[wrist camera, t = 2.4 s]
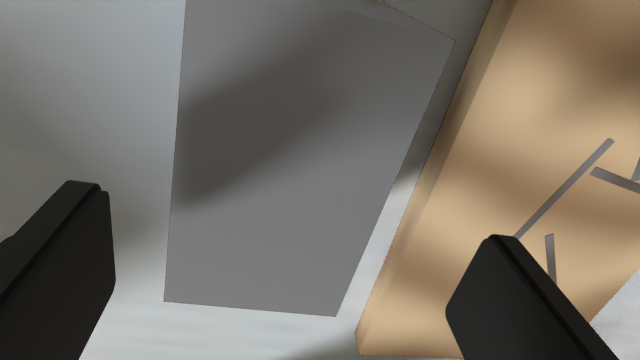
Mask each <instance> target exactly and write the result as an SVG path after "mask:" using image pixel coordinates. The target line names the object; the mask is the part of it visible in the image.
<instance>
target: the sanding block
mask: <svg viewBox="0 0 640 360" xmlns="http://www.w3.org/2000/svg"><path fill="white" fill-rule="evenodd" d="M454 44H455V40H453V39H451V38H449V37H447V36H445V35H444V34H442V33H440V32H438V31H436V30H434V29H432V28H431V27H429V26H427V25H425V24H423V23H421V22H420V21H418V20H416V19H414V18H412V17H410V16H408V15H407V14H405V13H403V12H401V11H399V10H397V9H395V8H394V7H392V6H389V5H386V4H383V3H379V2H376V1H373V0H186V7H185V20H184V34H183V47H182V61H181V74H180V87H179V101H178V114H177V128H176V141H175V155H174V168H173V182H172V195H171V209H170V222H169V236H168V249H167V263H166V276H165V290H164V302H174V303H185V304H196V305H208V306H219V307H230V308H241V309H253V310H264V311H275V312H286V313H298V314H309V315H320V316H332V317H336V315H337V313H338V310H339V308H340V306H341V303H342V301H343V299H344V297H345V294H346V292H347V290H348V287H349V285H350V283H351V280H352V278H353V276H354V274H355V271H356V269H357V267H358V264H359V262H360V260H361V257H362V255H363V253H364V251H365V248H366V246H367V244H368V241H369V239H370V237H371V234H372V232H373V230H374V228H375V225H376V223H377V221H378V218H379V216H380V214H381V211H382V209H383V207H384V205H385V202H386V200H387V198H388V195H389V193H390V191H391V188H392V186H393V184H394V182H395V179H396V177H397V175H398V172H399V170H400V168H401V165H402V163H403V161H404V159H405V156H406V154H407V152H408V149H409V147H410V145H411V143H412V140H413V138H414V136H415V133H416V131H417V129H418V126H419V124H420V122H421V120H422V117H423V115H424V113H425V110H426V108H427V106H428V103H429V101H430V99H431V97H432V94H433V92H434V90H435V87H436V85H437V83H438V80H439V78H440V76H441V74H442V71H443V69H444V67H445V64H446V62H447V60H448V57H449V55H450V53H451V51H452V48H453V46H454Z"/></svg>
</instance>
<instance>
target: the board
mask: <svg viewBox="0 0 640 360" xmlns="http://www.w3.org/2000/svg"><path fill="white" fill-rule="evenodd" d="M492 234H499V235H507V236H513V237H516V238H517V239H518V240H519V241H520V242H521V243H522V244H523V246H524V247H525V248H526V249H527V250H528V252H529V253H530V254H531V255H532V256H533V258H534V259H535V260H536V261H537V262H538V263H539V265H540V266H541V267H542V268H543V269H544V271H545V272H546V273H547V274H548V275H549V277H550V278H551V279H552V280H553V281H554V283H555V284H556V285H557V286H558V287H559V289H560V290H561V291H562V292H563V293H564V295H565V296H566V297H567V298H568V299H569V300H570V302H571V303H572V304H573V305H574V306H575V308H576V309H577V310H578V311H579V312H580V314H581V315H582V316H583V317H584V318H585V320H586V321H587V322H588V323H589V322H590V321H591V320H592V319H593V318H594V317H595V316H596V314H597V313H598V312H599V311H600V310H601V309H602V308H603V307H604V306H605V305H606V303H607V302H608V301H609V300H610V299H611V298H612V297H613V296H614V295H615V294H616V292H617V291H618V290H619V289H620V288H621V287H622V286H623V285H624V284H625V283H626V281H627V280H628V279H629V278H630V277H631V276H632V275H633V274H634V273H635V272H636V270H637V269H638V268H639V267H640V0H493V2H492V4H491V7H490V9H489V12H488V14H487V16H486V19H485V21H484V24H483V26H482V28H481V31H480V33H479V36H478V38H477V40H476V43H475V45H474V48H473V50H472V52H471V55H470V57H469V60H468V62H467V64H466V67H465V69H464V72H463V74H462V76H461V79H460V81H459V84H458V86H457V88H456V91H455V93H454V96H453V98H452V100H451V103H450V105H449V108H448V110H447V112H446V115H445V117H444V120H443V122H442V124H441V127H440V129H439V132H438V134H437V136H436V139H435V141H434V144H433V146H432V148H431V151H430V153H429V156H428V158H427V160H426V163H425V165H424V168H423V170H422V172H421V175H420V177H419V180H418V182H417V184H416V187H415V189H414V192H413V194H412V196H411V199H410V201H409V204H408V206H407V208H406V211H405V213H404V216H403V218H402V220H401V223H400V225H399V228H398V230H397V232H396V235H395V237H394V240H393V242H392V244H391V247H390V249H389V252H388V254H387V256H386V259H385V261H384V264H383V266H382V268H381V271H380V273H379V276H378V278H377V280H376V283H375V285H374V288H373V290H372V292H371V295H370V297H369V300H368V302H367V305H366V307H365V309H364V312H363V314H362V317H361V319H360V321H359V324H358V326H357V329H356V331H355V338H356V343H357V348H358V353H359V355H373V356H401V357H430V358H458V359H464V358H463V355H462V353H461V351H460V349H459V347H458V344H457V342H456V340H455V338H454V336H453V333H452V331H451V329H450V327H449V324H448V322H447V320H446V316H445V309H446V306H447V304H448V302H449V300H450V298H451V297H452V295H453V293H454V291H455V289H456V287H457V286H458V284H459V282H460V280H461V278H462V277H463V275H464V273H465V271H466V269H467V268H468V266H469V264H470V262H471V260H472V258H473V257H474V255H475V253H476V251H477V249H478V248H479V246H480V244H481V242H482V241H483V240H484V239H487V238H488V237H489V236H490V235H492Z"/></svg>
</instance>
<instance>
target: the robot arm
mask: <svg viewBox="0 0 640 360" xmlns="http://www.w3.org/2000/svg"><path fill="white" fill-rule="evenodd" d="M115 281H116V276H115V263H114V251H113V238H112V226H111V213H110V201H109V194H108V192H106V191H101V188H100V186H99V185H98V184H96V183H88V182H80V181H72V180H69V181H67V182H65V183H64V184H63V185H62V186H61V187H60V188H59V189H58V190H57V191H56V192H55V193H54V194H53V195H52V196H51V197H50V198H49V199H48V200H47V201H46V202H45V203H44V205H43V206H42V207H41V208H40V209H39V210H38V211H37V212H36V213H35V214H34V215H33V216H32V217H31V218H30V219H29V220H28V221H27V222H26V223H25V224H24V225H23V226H22V227H21V228H20V229H19V230H18V231H17V232H16V233H15V234H14V235H13V236H11V237H8V238H6V239H5V240H4V241H2V242H1V243H0V360H79V358H80V356H81V354H82V352H83V350H84V348H85V346H86V344H87V342H88V340H89V338H90V336H91V334H92V332H93V330H94V328H95V326H96V324H97V322H98V320H99V318H100V316H101V315H102V313H103V311H104V309H105V307H106V305H107V303H108V301H109V299H110V297H111V295H112V293H113V290H114V286H115ZM445 316H446V320H447V322H448V324H449V327H450V329H451V331H452V333H453V336H454V338H455V340H456V342H457V344H458V347H459V349H460V351H461V353H462V355H463V358H464V360H619V359H618V358H617V357H616V355H615V354H614V353H613V352H612V351H611V349H610V348H609V347H608V346H607V345H606V343H605V342H604V341H603V340H602V339H601V338H600V336H599V335H598V334H597V333H596V332H595V330H594V329H593V328H592V327H591V326H590V324H589V323H588V322H587V321H586V320H585V318H584V317H583V316H582V315H581V314H580V312H579V311H578V310H577V309H576V308H575V306H574V305H573V304H572V303H571V302H570V300H569V299H568V298H567V297H566V296H565V295H564V293H563V292H562V291H561V290H560V289H559V287H558V286H557V285H556V284H555V283H554V281H553V280H552V279H551V278H550V277H549V275H548V274H547V273H546V272H545V271H544V269H543V268H542V267H541V266H540V265H539V263H538V262H537V261H536V260H535V259H534V258H533V256H532V255H531V254H530V253H529V252H528V250H527V249H526V248H525V247H524V246H523V244H522V243H521V242H520V241H519V240H518V239H517V238H516V237H513V236H507V235H499V234H492V235H490V236H489V237H488V238H487V239H484V240H483V241H482V242H481V244H480V246H479V248H478V249H477V251H476V253H475V255H474V257H473V258H472V260H471V262H470V264H469V266H468V268H467V269H466V271H465V273H464V275H463V277H462V278H461V280H460V282H459V284H458V286H457V287H456V289H455V291H454V293H453V295H452V297H451V298H450V300H449V302H448V304H447V306H446V309H445Z"/></svg>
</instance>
